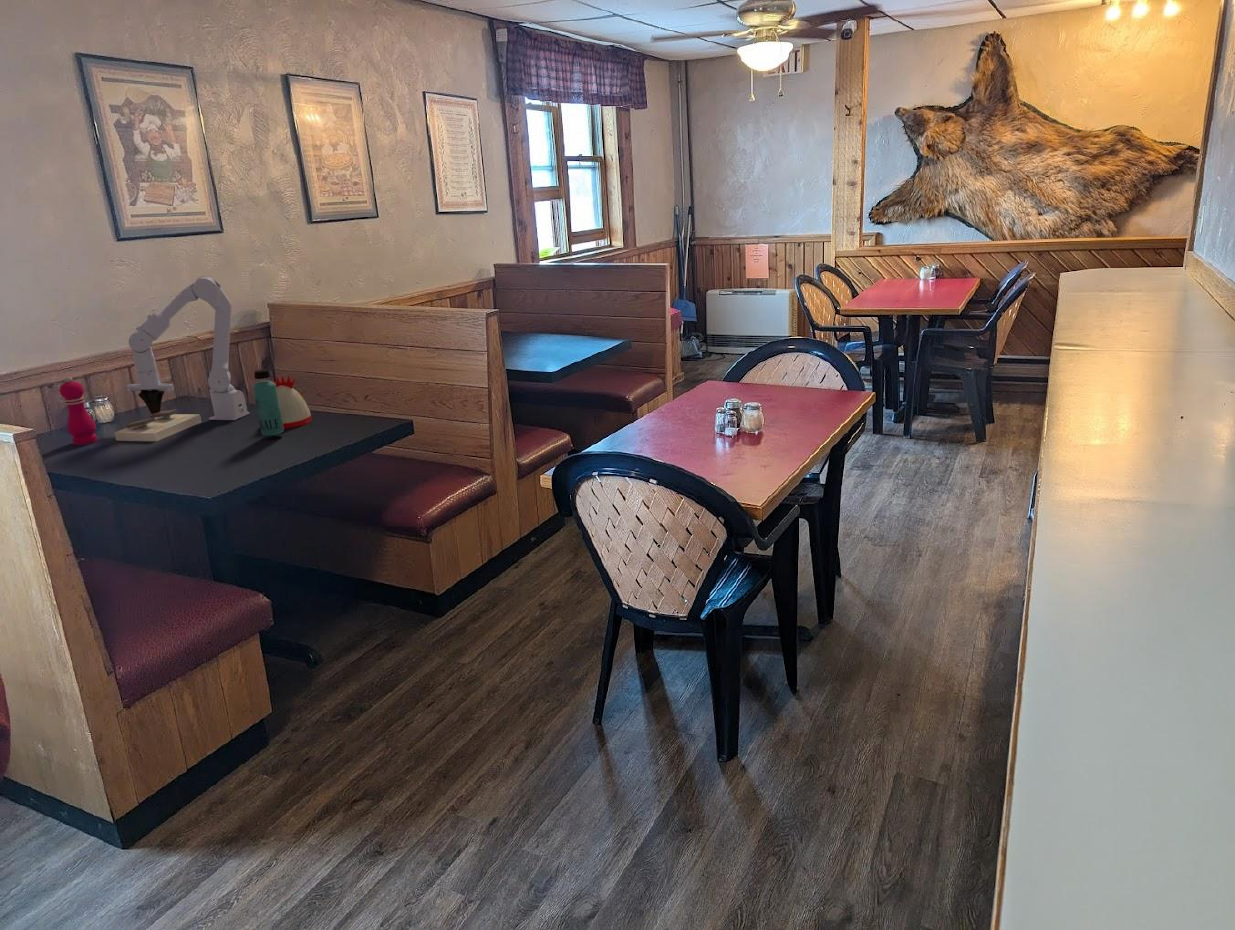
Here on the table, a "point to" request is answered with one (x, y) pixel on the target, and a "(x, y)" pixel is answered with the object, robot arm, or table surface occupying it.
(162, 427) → the switch console
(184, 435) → the table surface
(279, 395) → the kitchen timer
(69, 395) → the pepper mill
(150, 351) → the robot arm
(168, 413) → the block
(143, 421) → the block
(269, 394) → the beverage bottle
